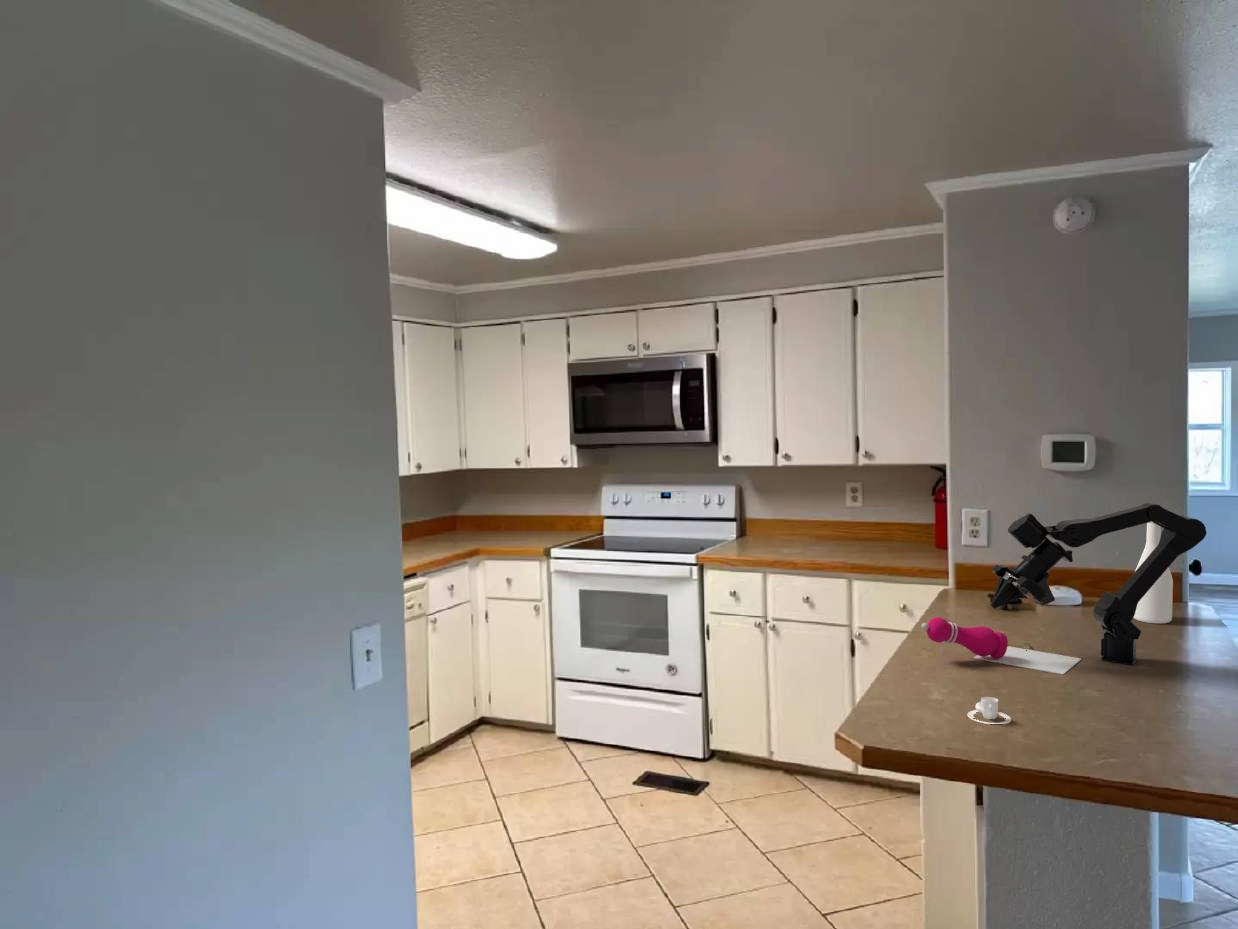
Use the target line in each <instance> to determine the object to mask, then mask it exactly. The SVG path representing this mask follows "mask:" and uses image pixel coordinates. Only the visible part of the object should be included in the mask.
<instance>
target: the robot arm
mask: <svg viewBox="0 0 1238 929" xmlns="http://www.w3.org/2000/svg"><path fill="white" fill-rule="evenodd" d="M1148 522H1153V523H1155V524H1157V525H1158V526H1160V527H1161V528H1163V530H1161V537H1160V541H1159V544H1158V546H1157V547H1156V548H1155V549H1154V550H1153V551H1152V553H1151V554H1150V555H1149V556H1148V557H1147V558H1146V560H1145V561H1144V562H1143V563H1142V564H1141V565H1140V567H1139V568H1138V569H1137V570H1136V569H1135V570H1136V571H1135V570H1134V573H1132V575H1131V576H1130V577H1129V578H1128V579H1127V581H1126V582H1125V583H1124V584H1123V585H1122V586H1121V588H1120V589H1119V590H1117V591H1115V592H1114V593H1111V592H1108V591H1107V590H1105V591H1104V592H1103V593H1102V595H1101V597H1100V598H1099V599H1098V600H1097V601H1096V602H1094V605H1095V607H1094V608H1093V610H1092V613H1093V618H1094V620H1095V621H1096V622H1097V623H1099V624H1100V627H1101V629H1102V630H1103V631H1105V632H1104V633H1103V637H1102V638H1101V639H1100V656H1101V659H1100V660H1101V661H1106V662H1112V663H1118V664H1123V665H1130V666H1132V665H1134V664H1135V663H1136V662H1137V661H1138V659H1139V657H1138V656H1137V640H1139V638H1140V635H1142V634H1141V633H1142V631H1141V630H1140V629H1139V628H1138V626H1136V625H1135V624H1134V623H1133V622H1132V620H1133V617H1134V615H1135V612H1136V608H1137V604H1138V602H1139V601H1140V600H1141V599H1142V597H1143V596H1144V595H1145V594H1146V593H1147V592H1148V590H1149V589H1150V588H1151V587H1152V586H1153V585H1154V583H1155V582H1156V581H1157V580H1158V579H1159V578H1160V577H1161V575H1162V574H1163V573H1164V572H1165V571H1166V570H1167V568H1168V567H1169V568H1170V566H1171V565H1172V564H1173V563H1174V561H1176V559H1177V558H1178V557H1179V556H1181V555H1182V554H1184V553H1187V552H1188V551H1190V550H1192V549H1193V548H1194V547H1196V546H1197V545H1199V544H1200V543H1201V542H1202V541H1204V540H1205V537H1206V536H1207V529H1206V528H1207V527H1206V525H1205V524H1204V522H1202V521H1201V520H1199V519H1197V518H1193V517H1189V516H1186V515H1185V516H1184V515H1180V514H1176V513H1174V512H1173V511H1170V510H1167V509H1166V508H1164V507H1162V506H1161V505H1160V504H1155V503H1150V502H1144V503H1143V504H1141V505H1138V506H1134V507H1131V508H1127V509H1124V510H1123V509H1122V510H1119V511H1115V512H1112V513H1107V514H1105V515H1100V516H1097V517H1094V518H1093V517H1092V518H1076V519H1066V520H1062V521H1060V522H1058V523H1056V525H1049V526H1044V525H1043V524H1042V523H1041V522H1039V521H1038V519H1037V518H1036V517H1035V515H1034V514H1032V513H1030V512H1028V513H1026V514H1025V516H1021V517H1020V518H1018V519H1016V520H1014V521H1013V522H1012V523H1011V524H1010V526H1008V528H1007V533H1008V534H1010V535H1011V536H1012V537H1013V538H1014V539H1015V540H1016V542H1018V543H1019V544H1020V545H1021V546H1022V547H1023V548H1025V549H1028V548H1030V549H1033V550H1032V551H1031V552H1030V553H1029V554H1028V555H1025V554H1023V555H1021V557H1020V558H1021V559H1022V560H1021V561H1020V562H1019V563H1018V564H1017V565H1016V566H1015V567H1013V566H1010V567H1009V568H1008V567H1007V566H1004V565H1003V564H996V565H995V566H994V567H993V568H992V569H991V571H992V573H993V574H994V575H995V576H997V578H998V581H997V584H996V588H995V591H994V594H993V597H992V600H991V602H990V606H991V608H992V609H998V608H999V607H1001V606H1003V605H1005V604H1007V603H1009V602H1011V601H1013V600H1016V599H1023V600H1024V599H1025V600H1027V599H1029V598H1028V597H1027V595H1029V594H1030V595H1031V596H1032V599H1033V601H1034V602H1035V603H1036V604H1039V605H1041V607H1044V606H1046V605H1048V604H1051V603H1052V602H1054V601H1055V597H1054V594H1053V593H1052V590H1051V588H1050V586H1049V584H1048V583H1047V580H1048V579H1049V578H1050V574H1049V572H1050V570H1052V568H1054V567H1055V566H1056V565H1058V563H1059V562H1060V561H1061V560H1064V561H1066V562H1069V563H1073V562H1074V560H1073V550H1071V549H1065V548H1064V546H1062V545H1061V544H1063V545H1065V546H1068V547H1070V548H1079V547H1081V546H1084V545H1087V544H1089V543H1091V542H1093V541H1094V540H1095V539H1097V538H1099V537H1102V535H1106V534H1110V533H1115V532H1117V531H1121V530H1125V529H1129V528H1134V527H1136V526H1140V525H1144V524H1147V523H1148ZM1049 538H1051V539H1053V540H1055V541H1054V542H1053V541H1052V540H1050V539H1049ZM1060 543H1061V544H1060Z"/></svg>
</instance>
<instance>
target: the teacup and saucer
mask: <svg viewBox="0 0 1238 929" xmlns="http://www.w3.org/2000/svg"><path fill="white" fill-rule="evenodd" d="M976 712H979V713H981V714H982V716H983V718H984V719H986V720H990V719H993V720H995V719H997V717H998V716H1001V717H1002V718H1004V720H1006V721H1004V720H1003V721H1004V722H1003V721H1000V722H987V721H983V720H980V721H979V719H977V718H976V719H977V720H976V719H973V718H975V716H974V715H975V714H977V713H976ZM966 715H967V717H968V718H969V719H970V720H972V721H974V722H976V723H977V722H978V723H980V724H985V725H990V724H1003V725H1006V724H1009V723H1011V721H1012V718H1011V717H1010V716H1009V714H1008V715H1007V714H1006V713H1004V712H1000V711H999V699H998V698H996V697H991V696H982V697H980V701H978V702H977V703H976V704H975V709H974V710H970V711H968V713H967V714H966ZM1005 718H1006V719H1005Z"/></svg>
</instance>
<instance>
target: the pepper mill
mask: <svg viewBox="0 0 1238 929" xmlns="http://www.w3.org/2000/svg"><path fill="white" fill-rule="evenodd" d="M920 627H921V629H922V630H923V631H925V632H926V635H927V637H928V638H929V639H930V640H931V641H933V642H934V643H943V642H944V643H947V644H958V645H961V646H963V647H965V648H966V649H968V650H969V651H970V652H972V653H973V654H975V655H976V656H977V655H979V656H982V657H986V656H989V655H990V656H991V657H994V658H998V659H1000V658H1002V657H1003V656H1004V655H1005V653H1006V651H1007V646H1008V645H1009V642H1008V637H1007V635H1006V634H1005V633H1003V632H999V631H994V630H993V629H992V628H991V627H988V626H980V625H979V626H972V627H964V626H959V625H957V624H956V623H955V622H951V621H949V622H948V621H947V619H945V618H943V617H939V616H938V617H937V616H936V617H933V618H931V619H929V621H928V622H923V623H922V624H921V626H920Z"/></svg>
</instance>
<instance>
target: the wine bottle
mask: <svg viewBox="0 0 1238 929" xmlns="http://www.w3.org/2000/svg"><path fill="white" fill-rule="evenodd" d="M1161 528H1162V527H1160V526H1158V525H1157V524H1155V523H1153V522H1148V523H1146V538H1145V539H1146V540H1145V541H1146V542H1145V546H1144V549H1143V551H1142V554H1141V556H1140V559H1139V561H1138V563H1137V566H1136V569H1135V570H1134V572H1135V571H1136V570H1137V569H1138V568H1139V567H1140V565H1141V564H1142V563H1143V562H1144V561H1145V560H1146V558H1147V557H1148V556H1149V555H1150V554H1151V553H1152V551H1153V550H1154V549H1155V548H1156V547H1157V546H1158V544H1159V541H1160V537H1161V533H1162V530H1161ZM1171 572H1172V571H1171V570H1170V566H1169V567H1168V568H1167V570H1166V571H1165V572H1164V573H1163V574H1162V575H1161V577H1160V578H1159V579H1158V580H1157V581H1156V582H1155V583H1154V585H1153V586H1152V587H1151V588H1150V589H1149V590H1148V592H1147V593H1146V594H1145V595H1144V596H1143V597H1142V599H1141V600H1140V601H1139V602H1138V604H1137V608H1136V612H1135V615H1134V617H1133V618H1134V619H1135V621H1138V622H1142V623H1147V624H1148V623H1149V624H1168V623H1171V622H1172V620H1173V598H1174V597H1173V592H1174V589H1173V588H1174V580H1173V576H1172V573H1171Z"/></svg>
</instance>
